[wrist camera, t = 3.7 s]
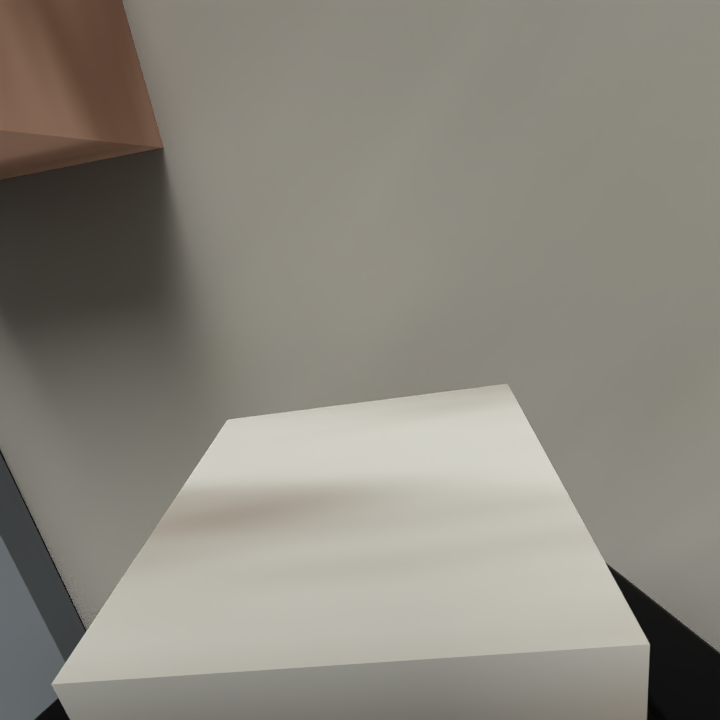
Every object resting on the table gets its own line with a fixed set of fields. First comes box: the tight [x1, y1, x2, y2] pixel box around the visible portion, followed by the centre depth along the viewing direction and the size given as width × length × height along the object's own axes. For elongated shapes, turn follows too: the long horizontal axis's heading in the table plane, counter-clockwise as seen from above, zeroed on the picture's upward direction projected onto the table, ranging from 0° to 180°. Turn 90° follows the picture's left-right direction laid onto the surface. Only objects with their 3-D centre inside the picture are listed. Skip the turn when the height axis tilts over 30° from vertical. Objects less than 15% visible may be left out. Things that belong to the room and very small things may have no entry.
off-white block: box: [51, 384, 650, 720], centre depth 7 cm, size 5×5×5 cm
